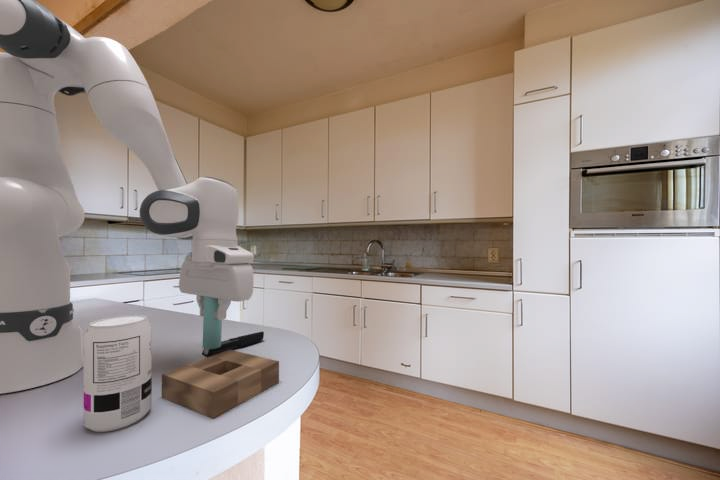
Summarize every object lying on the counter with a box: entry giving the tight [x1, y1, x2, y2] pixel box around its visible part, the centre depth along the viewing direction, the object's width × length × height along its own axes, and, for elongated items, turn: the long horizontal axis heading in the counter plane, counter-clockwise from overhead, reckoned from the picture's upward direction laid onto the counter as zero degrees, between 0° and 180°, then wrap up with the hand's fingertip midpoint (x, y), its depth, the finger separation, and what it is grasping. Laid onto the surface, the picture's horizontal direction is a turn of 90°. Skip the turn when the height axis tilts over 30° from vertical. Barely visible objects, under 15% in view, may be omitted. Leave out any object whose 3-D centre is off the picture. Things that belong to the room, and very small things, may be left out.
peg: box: [202, 296, 223, 350], centre depth 67 cm, size 4×4×12 cm
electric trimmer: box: [201, 331, 265, 358], centre depth 80 cm, size 4×16×3 cm, turn 138°
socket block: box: [161, 349, 280, 419], centre depth 57 cm, size 14×14×4 cm
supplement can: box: [83, 314, 153, 433], centre depth 48 cm, size 8×8×15 cm
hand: (212, 317), depth 67 cm, fingers closed on peg, 4 cm apart
